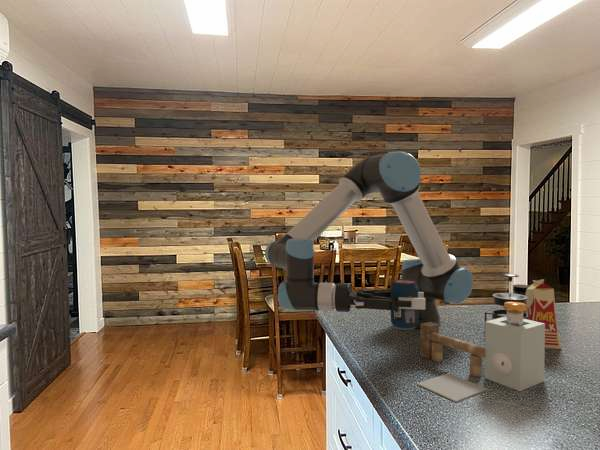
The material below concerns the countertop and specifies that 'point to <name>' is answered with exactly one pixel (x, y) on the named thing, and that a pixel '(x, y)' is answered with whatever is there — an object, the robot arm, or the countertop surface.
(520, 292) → the supplement container
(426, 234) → the robot arm
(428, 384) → the mat
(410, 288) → the soda can
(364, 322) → the countertop surface
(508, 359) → the cabinet
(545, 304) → the milk carton
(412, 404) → the countertop surface
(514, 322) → the gauge knob
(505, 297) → the french press
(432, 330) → the handrail
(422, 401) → the countertop surface
